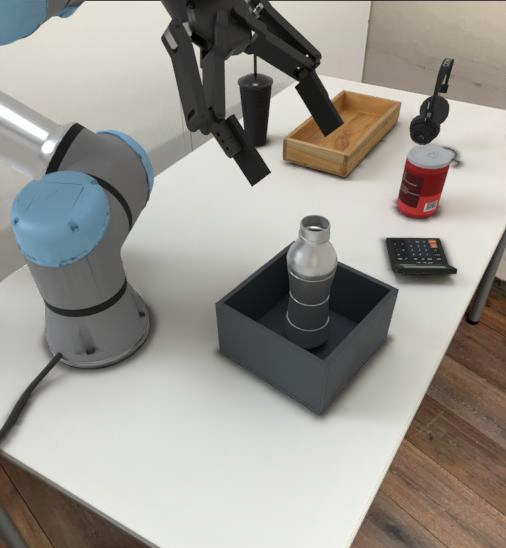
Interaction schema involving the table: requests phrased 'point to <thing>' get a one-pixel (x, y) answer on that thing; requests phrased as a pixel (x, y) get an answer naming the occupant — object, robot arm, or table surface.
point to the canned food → (423, 180)
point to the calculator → (418, 256)
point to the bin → (288, 356)
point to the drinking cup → (255, 104)
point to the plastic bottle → (310, 283)
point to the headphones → (433, 109)
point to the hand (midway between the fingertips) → (300, 153)
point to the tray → (342, 134)
